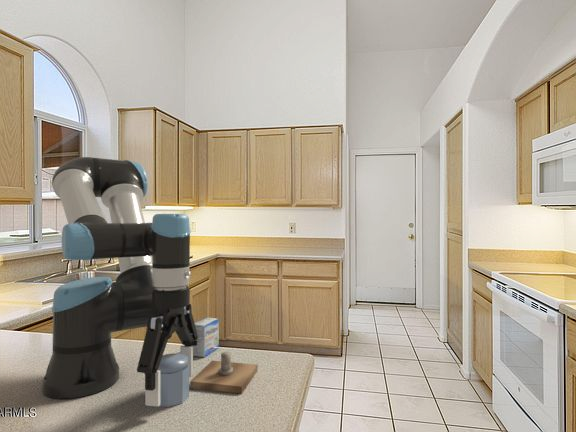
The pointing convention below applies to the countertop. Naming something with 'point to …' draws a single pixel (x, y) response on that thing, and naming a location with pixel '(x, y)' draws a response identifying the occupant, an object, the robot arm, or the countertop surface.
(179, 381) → the cap
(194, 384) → the brown wooden square board
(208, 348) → the medicine box
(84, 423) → the countertop surface
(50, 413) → the countertop surface
